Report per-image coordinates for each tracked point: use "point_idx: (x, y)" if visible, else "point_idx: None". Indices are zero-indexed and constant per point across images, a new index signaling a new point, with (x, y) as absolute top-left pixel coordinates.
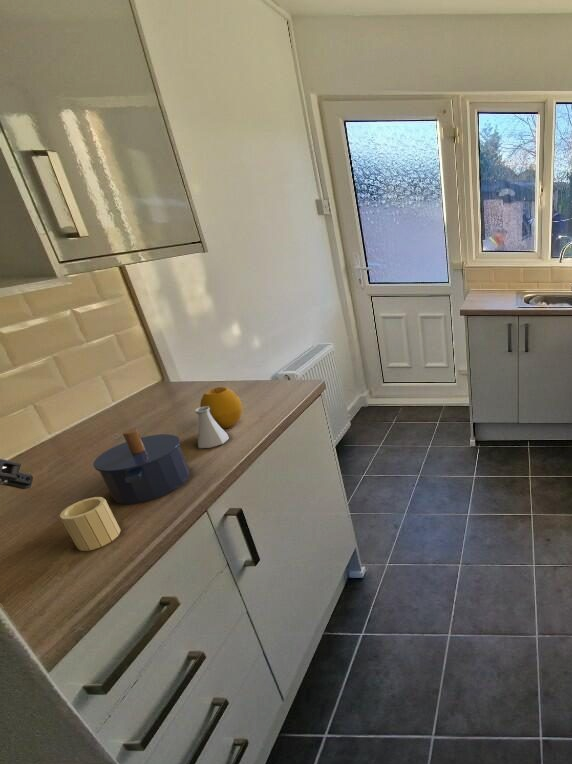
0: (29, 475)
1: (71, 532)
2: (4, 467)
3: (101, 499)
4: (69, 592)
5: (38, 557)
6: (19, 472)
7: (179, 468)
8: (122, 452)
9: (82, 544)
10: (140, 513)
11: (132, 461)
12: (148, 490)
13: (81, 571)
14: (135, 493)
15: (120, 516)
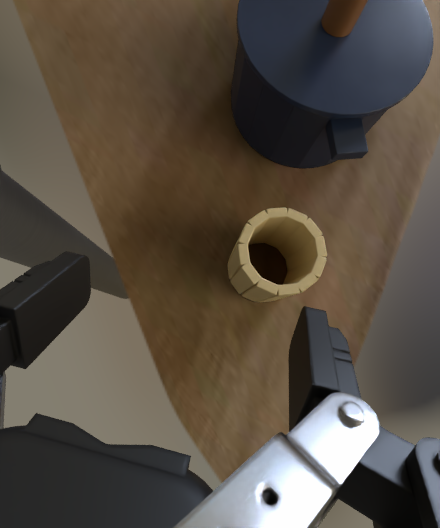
0: (347, 346)
1: (250, 291)
2: (369, 447)
3: (313, 229)
4: (269, 428)
5: (167, 278)
6: (331, 350)
7: None
8: (296, 11)
9: (253, 299)
10: (309, 210)
11: (344, 80)
12: (327, 154)
13: (266, 368)
14: (305, 156)
15: (273, 202)
